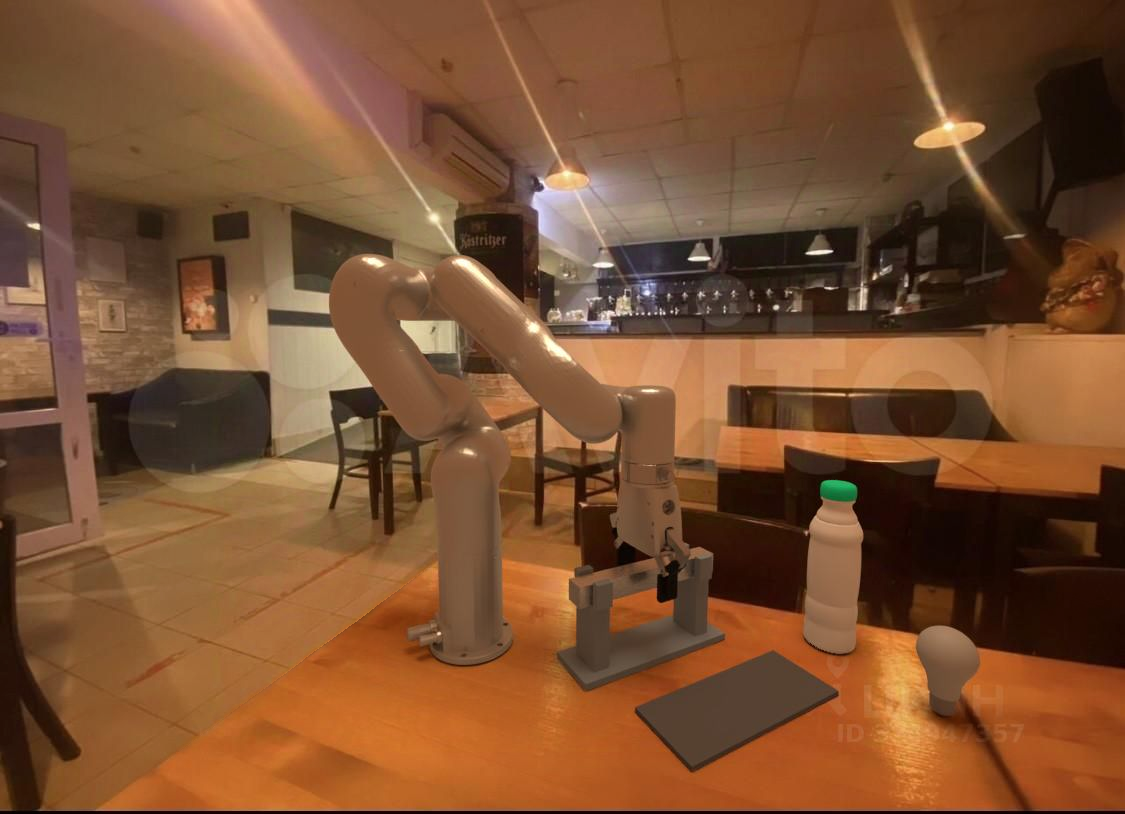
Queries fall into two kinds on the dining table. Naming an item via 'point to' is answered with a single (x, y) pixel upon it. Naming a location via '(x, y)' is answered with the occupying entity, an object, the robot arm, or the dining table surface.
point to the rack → (638, 632)
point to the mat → (733, 707)
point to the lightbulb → (946, 665)
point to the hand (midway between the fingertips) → (645, 585)
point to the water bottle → (833, 570)
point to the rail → (627, 579)
